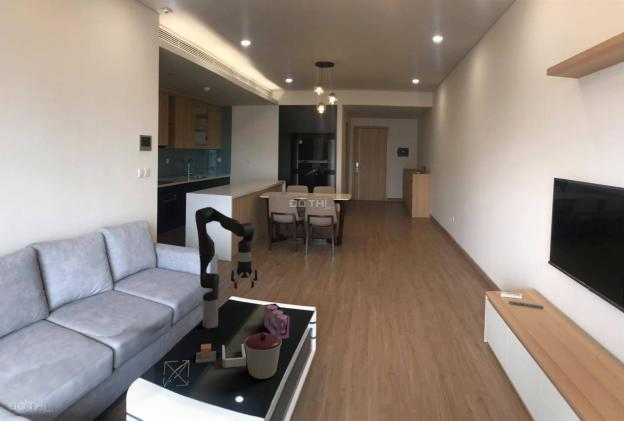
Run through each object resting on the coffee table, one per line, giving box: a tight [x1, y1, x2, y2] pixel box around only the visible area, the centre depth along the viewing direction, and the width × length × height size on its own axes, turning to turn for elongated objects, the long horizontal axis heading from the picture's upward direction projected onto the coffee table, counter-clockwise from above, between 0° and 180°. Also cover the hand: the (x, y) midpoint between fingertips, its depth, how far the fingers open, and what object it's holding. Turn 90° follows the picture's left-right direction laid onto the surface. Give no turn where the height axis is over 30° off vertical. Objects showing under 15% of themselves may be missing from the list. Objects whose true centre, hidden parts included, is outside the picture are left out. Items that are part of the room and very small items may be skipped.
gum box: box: [263, 302, 290, 340], centre depth 243 cm, size 24×8×14 cm, turn 27°
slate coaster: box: [195, 350, 217, 364], centre depth 209 cm, size 10×10×1 cm
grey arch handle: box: [221, 343, 247, 369], centre depth 209 cm, size 16×11×4 cm
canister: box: [243, 331, 283, 380], centre depth 195 cm, size 18×18×21 cm
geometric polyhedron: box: [162, 359, 190, 387], centre depth 185 cm, size 12×11×9 cm
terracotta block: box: [200, 343, 212, 358], centre depth 210 cm, size 5×5×5 cm
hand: (244, 288), depth 220 cm, fingers open, 8 cm apart
